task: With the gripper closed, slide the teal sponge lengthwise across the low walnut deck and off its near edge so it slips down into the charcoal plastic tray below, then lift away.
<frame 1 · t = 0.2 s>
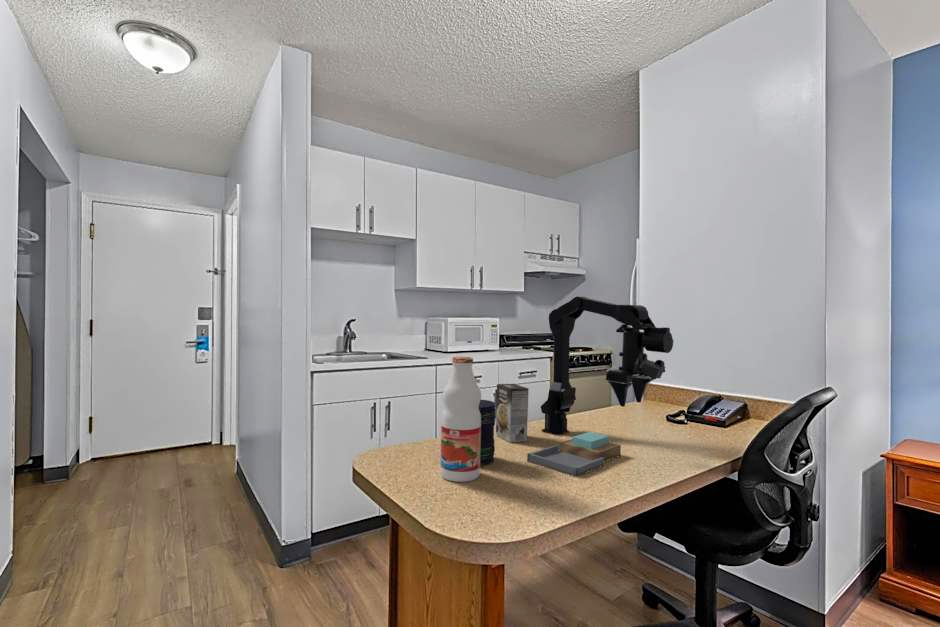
hand: (630, 404, 137), 13 cm above the table, tool pointing down, fingers open, 9 cm apart
fruit juice: (460, 476, 115), on the table
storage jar: (475, 460, 127), on the table
teal sponge: (590, 443, 133), point 3 cm above the table, touching deck
deck: (590, 454, 133), on the table
coffee box: (511, 438, 148), on the table
tray: (565, 463, 125), on the table
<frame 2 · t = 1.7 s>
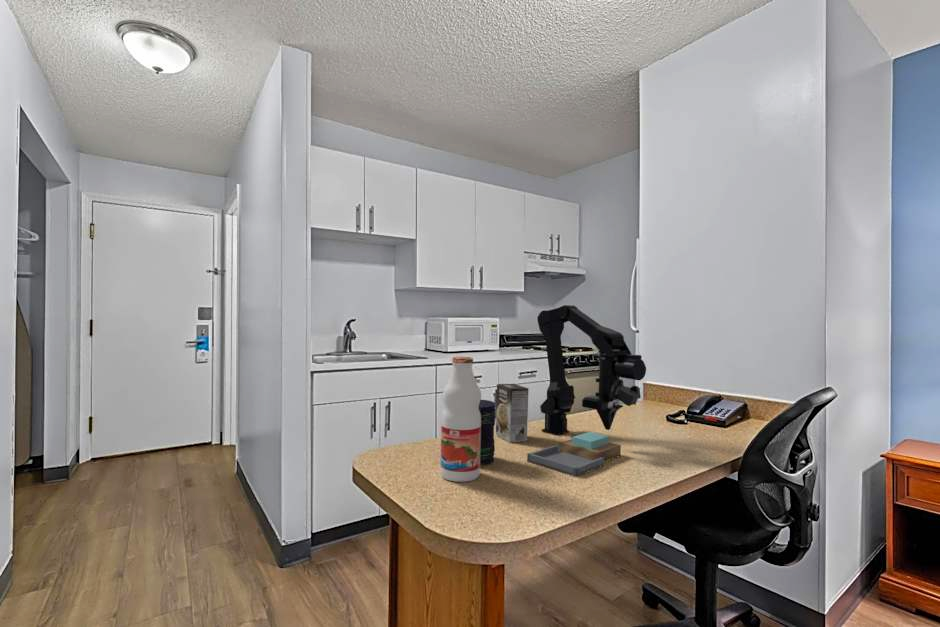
hand: (607, 429, 140), 5 cm above the table, tool pointing down, fingers closed
nothing on the table moved.
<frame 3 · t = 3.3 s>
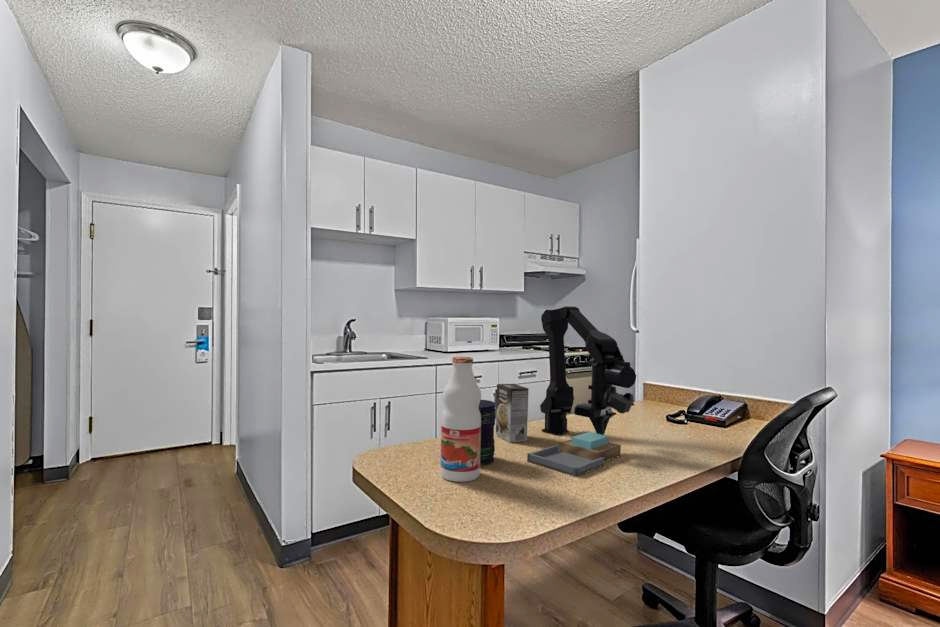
hand: (600, 437, 137), 4 cm above the table, tool pointing down, fingers closed
teal sponge: (589, 443, 133), point 3 cm above the table, touching deck, gripper
everything else where it was.
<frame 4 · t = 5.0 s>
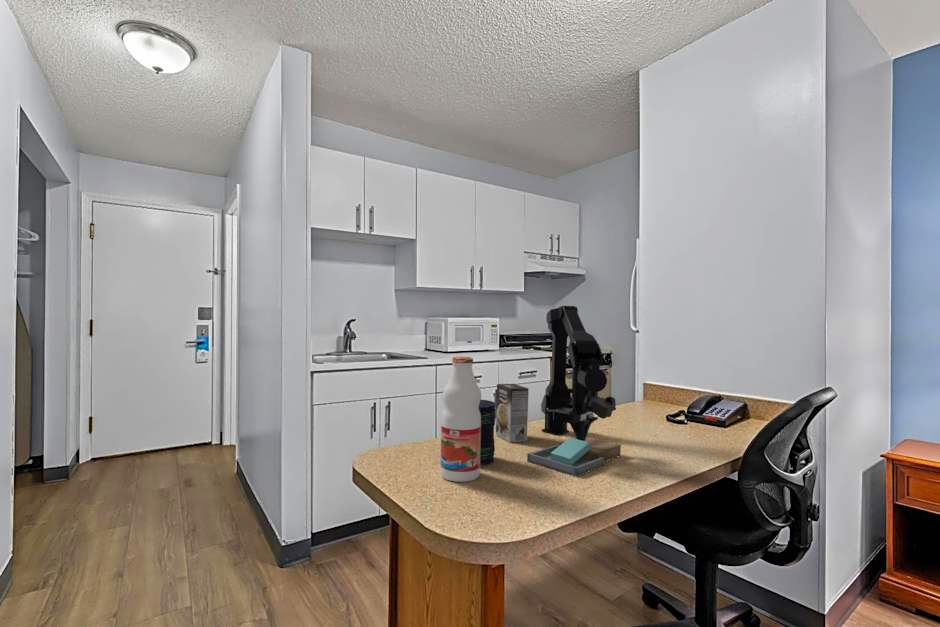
hand: (581, 443, 130), 4 cm above the table, tool pointing down, fingers closed
teal sponge: (571, 454, 127), point 2 cm above the table, tilted 16°, touching gripper
everything else where it was.
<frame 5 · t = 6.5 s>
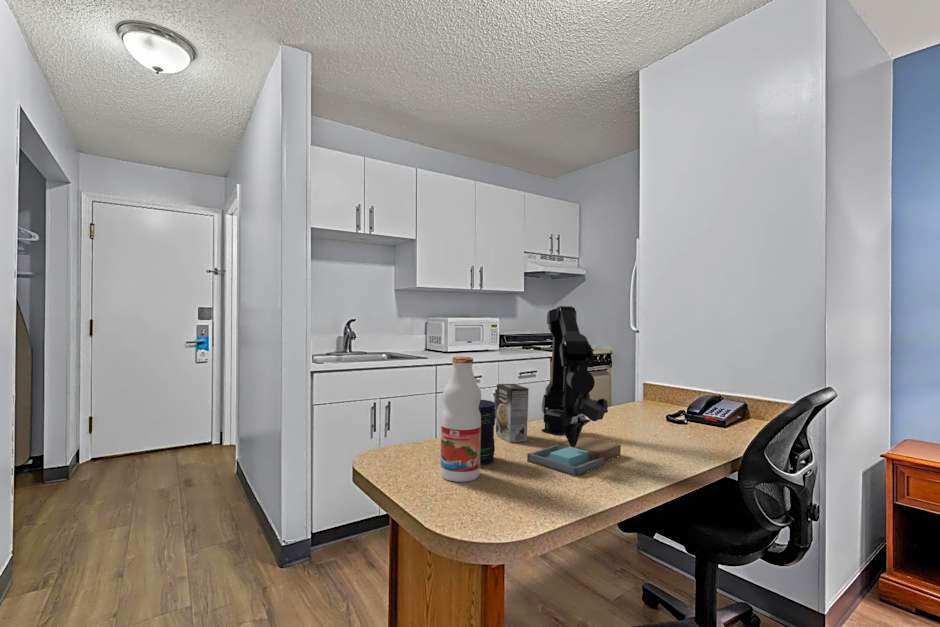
hand: (572, 446, 127), 4 cm above the table, tool pointing down, fingers closed
teal sponge: (569, 459, 126), point 1 cm above the table, touching tray
everything else where it was.
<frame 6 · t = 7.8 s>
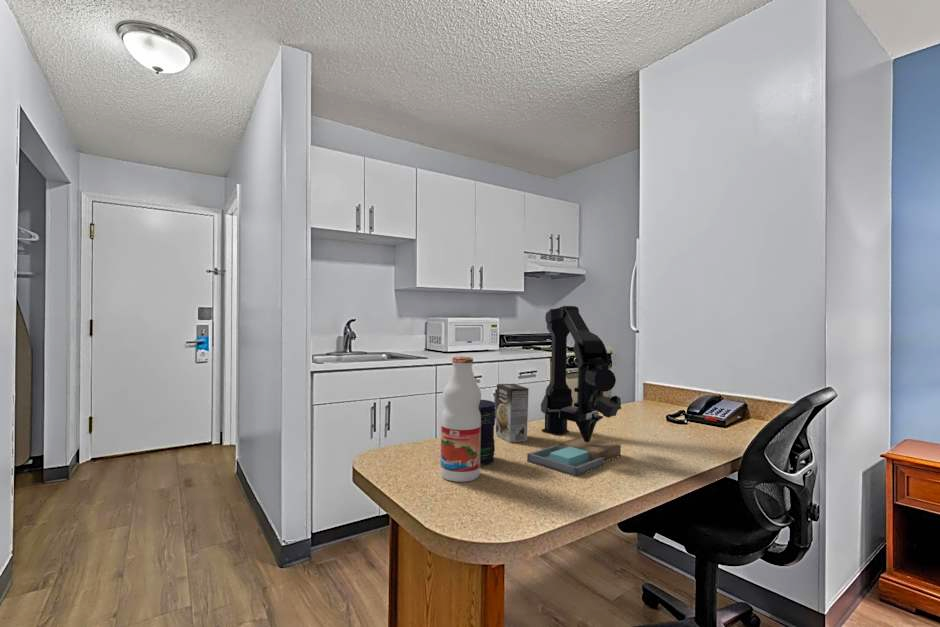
hand: (586, 441, 132), 4 cm above the table, tool pointing down, fingers closed
nothing on the table moved.
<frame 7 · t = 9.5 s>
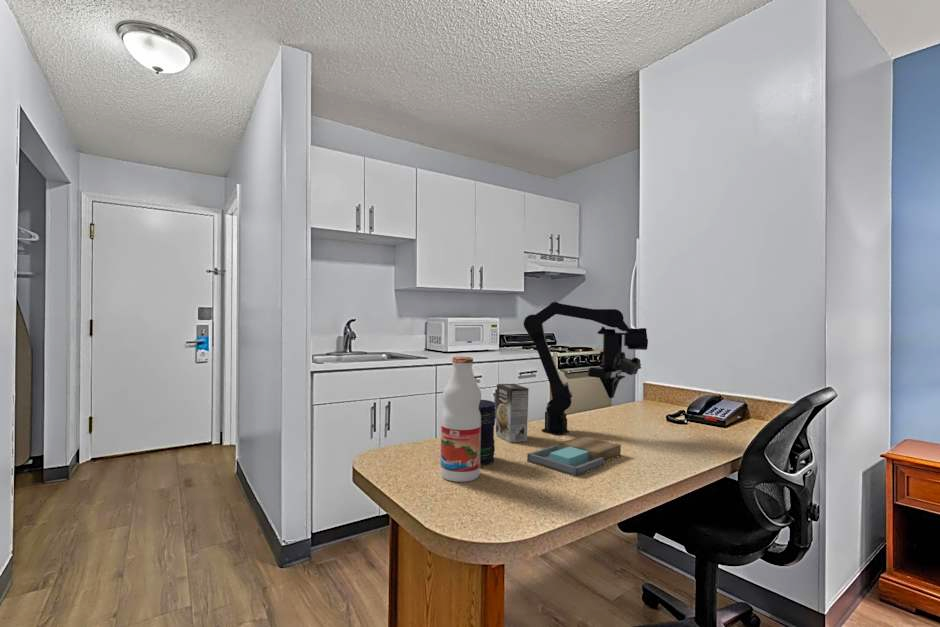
hand: (611, 397, 154), 12 cm above the table, tool pointing down, fingers closed
nothing on the table moved.
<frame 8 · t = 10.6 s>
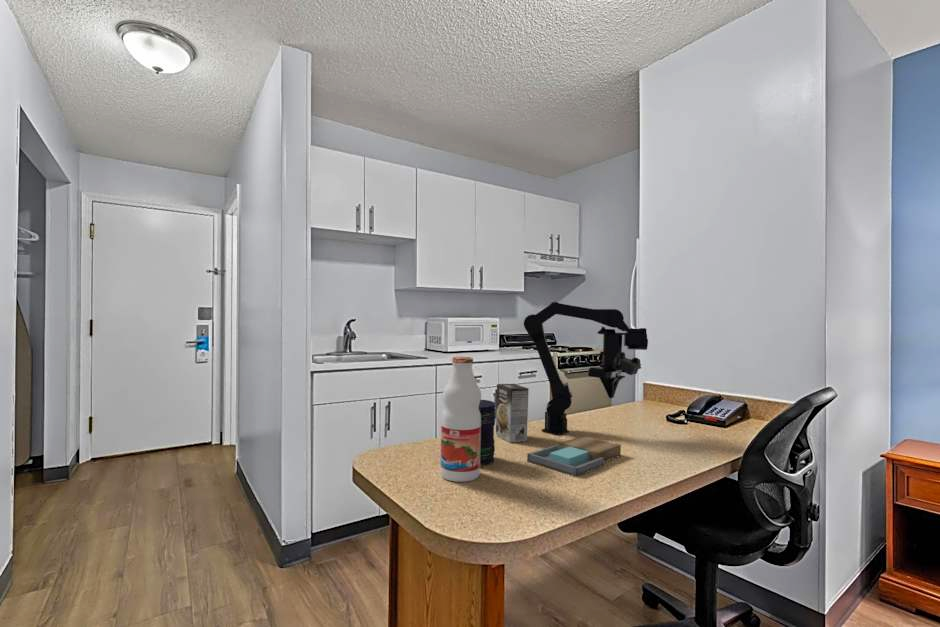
hand: (611, 397, 154), 12 cm above the table, tool pointing down, fingers closed
nothing on the table moved.
at the end: teal sponge inside the target area on the tray (1.7 cm from its centre), point 0.6 cm above the tray's base; teal sponge point 0.6 cm above the table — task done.
